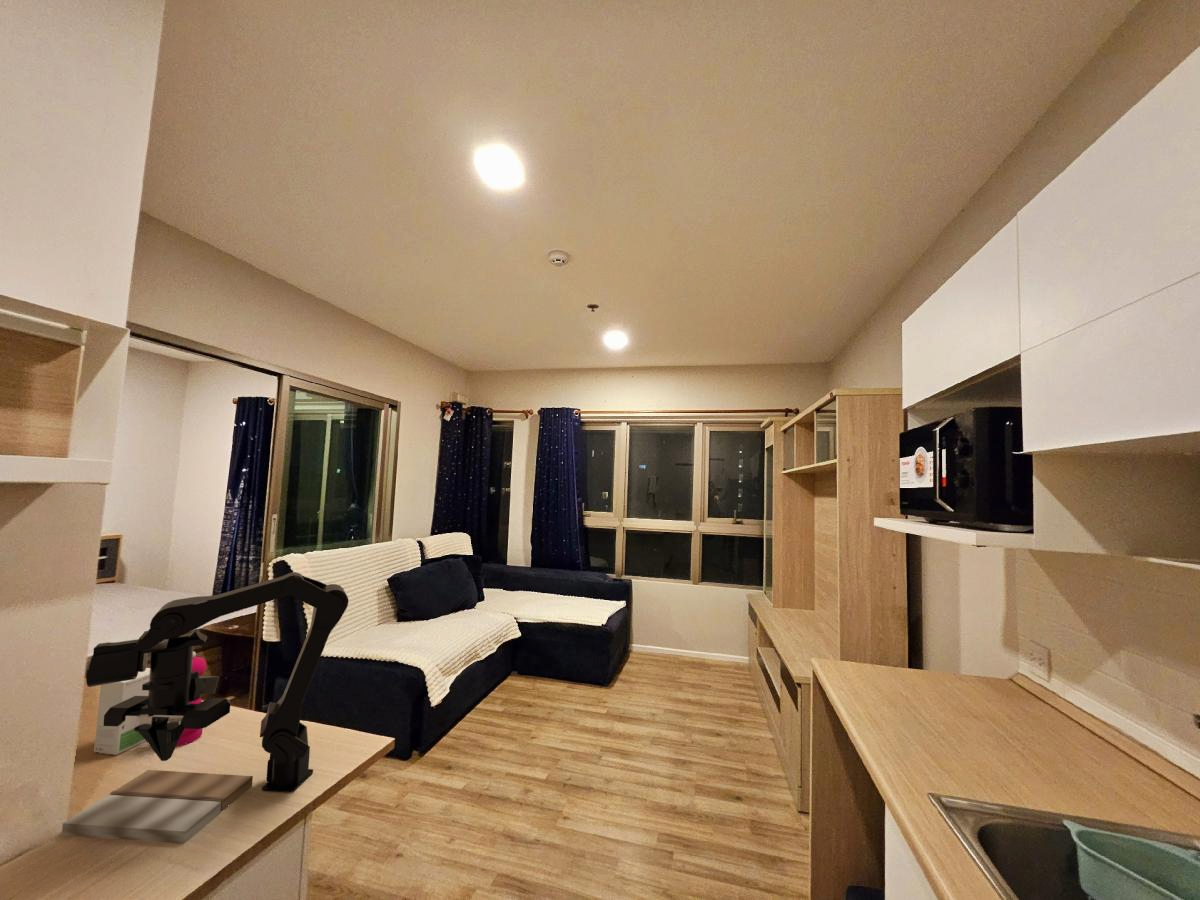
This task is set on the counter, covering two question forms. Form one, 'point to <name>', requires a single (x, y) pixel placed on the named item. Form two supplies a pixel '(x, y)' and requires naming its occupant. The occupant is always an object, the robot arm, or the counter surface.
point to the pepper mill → (193, 734)
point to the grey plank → (142, 819)
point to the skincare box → (124, 734)
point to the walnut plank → (187, 786)
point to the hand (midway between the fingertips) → (166, 759)
